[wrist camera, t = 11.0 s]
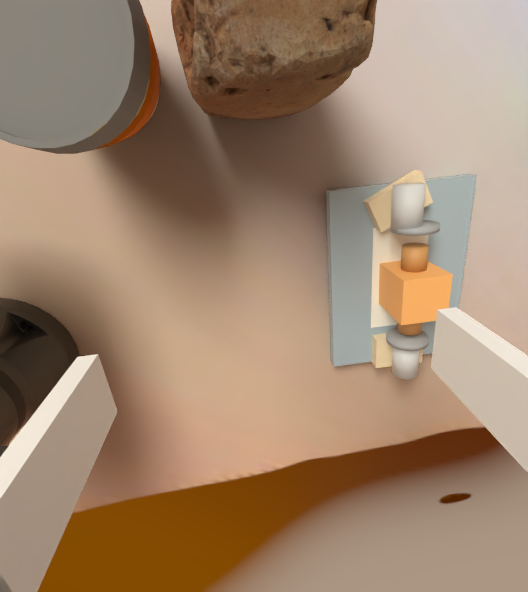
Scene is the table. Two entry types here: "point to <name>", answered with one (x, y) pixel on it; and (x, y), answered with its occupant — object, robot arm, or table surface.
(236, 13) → the block
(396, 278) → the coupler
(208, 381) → the table surface
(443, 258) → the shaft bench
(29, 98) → the reusable coffee cup
